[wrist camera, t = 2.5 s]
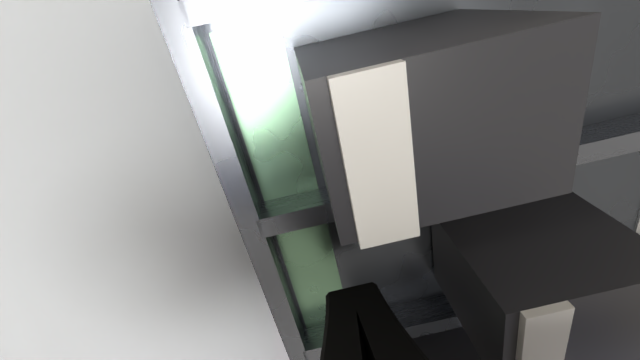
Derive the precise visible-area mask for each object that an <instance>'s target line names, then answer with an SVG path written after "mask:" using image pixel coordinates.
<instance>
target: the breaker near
mask: <svg viewBox="0 0 640 360" xmlns="http://www.w3.org/2000/svg"><path fill="white" fill-rule="evenodd" d="M600 18H601V12H572V11H526V10H481V9H458V10H453V11H449V12H445V13H441V14H436V15H432V16H428V17H423V18H419V19H415V20H411V21H406V22H402V23H398V24H393V25H389V26H385V27H381V28H376V29H372V30H368V31H363V32H359V33H355V34H351V35H346V36H342V37H338V38H333V39H329V40H325V41H321V42H316V43H312V44H308V45H303V46H299V47H295V48H294V51H295V56H296V60H297V65H298V69H299V73H300V78H301V82H302V87H303V91H304V95H305V100H306V104H307V109H308V113H309V117H310V122H311V126H312V131H313V135H314V139H315V144H316V148H317V152H318V157H319V161H320V165H321V169H322V173H323V176H324V180H325V184H326V188H327V192H328V196H329V200H330V204H331V208H332V212H333V216H334V220H335V224H336V228H337V232H338V236H339V240H340V244H341V246H344V245H348V244H353V243H357V242H358V243H359V246H360V249H366V248H370V247H374V246H379V245H383V244H387V243H392V242H396V241H400V240H405V239H409V238H413V237H418V236H420V228H422V227H426V226H430V225H435V224H439V223H443V222H448V221H452V220H456V219H461V218H465V217H469V216H473V215H478V214H482V213H486V212H491V211H495V210H499V209H504V208H508V207H512V206H517V205H521V204H525V203H530V202H534V201H538V200H543V199H547V198H551V197H556V196H560V195H564V194H568V193H572V188H573V182H574V176H575V170H576V163H577V157H578V151H579V145H580V139H581V133H582V127H583V121H584V115H585V109H586V103H587V97H588V91H589V85H590V79H591V73H592V67H593V61H594V55H595V49H596V42H597V36H598V30H599V24H600Z"/></svg>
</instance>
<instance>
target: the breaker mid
mask: <svg viewBox="0 0 640 360" xmlns="http://www.w3.org/2000/svg"><path fill="white" fill-rule="evenodd" d="M431 229H432V244H433V260H434V276H435V279H436V281H437V282H438V284H439V286H440V288H441V289H442V291H443V293H444V295H445V296H446V298H447V300H448V302H449V303H450V305H451V307H452V309H453V311H454V312H455V314H456V316H457V318H458V319H459V321H460V323H461V325H462V326H463V328H464V330H465V332H466V333H467V335H468V337H469V339H470V341H471V342H472V344H473V346H474V348H475V349H476V351H477V353H478V355H479V356H480V358H481V360H640V235H639V234H638V233H636V232H635V231H633V230H631V229H630V228H628V227H627V226H625V225H624V224H622V223H620V222H619V221H617V220H616V219H614V218H613V217H611V216H610V215H608V214H606V213H605V212H603V211H602V210H600V209H599V208H597V207H595V206H594V205H592V204H591V203H589V202H588V201H586V200H584V199H583V198H581V197H580V196H578V195H577V194H575V193H574V192H572V193H568V194H564V195H560V196H556V197H551V198H547V199H543V200H538V201H534V202H530V203H525V204H521V205H517V206H512V207H508V208H504V209H499V210H495V211H491V212H486V213H482V214H478V215H473V216H469V217H465V218H461V219H456V220H452V221H448V222H443V223H439V224H435V225H431Z"/></svg>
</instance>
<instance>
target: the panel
mask: <svg viewBox="0 0 640 360" xmlns="http://www.w3.org/2000/svg"><path fill="white" fill-rule="evenodd" d="M149 1H150V4H151V6H152V9H153V11H154V14H155V16H156V19H157V21H158V24H159V27H160V29H161V32H162V34H163V37H164V39H165V42H166V44H167V47H168V50H169V52H170V55H171V57H172V60H173V62H174V65H175V67H176V70H177V73H178V75H179V78H180V80H181V83H182V85H183V88H184V90H185V93H186V96H187V98H188V101H189V103H190V106H191V108H192V111H193V113H194V116H195V119H196V121H197V124H198V126H199V129H200V131H201V134H202V136H203V139H204V142H205V144H206V147H207V149H208V152H209V154H210V157H211V159H212V162H213V165H214V167H215V170H216V172H217V175H218V177H219V180H220V182H221V185H222V187H223V190H224V193H225V195H226V198H227V200H228V203H229V205H230V208H231V210H232V213H233V216H234V218H235V221H236V223H237V226H238V228H239V231H240V233H241V236H242V239H243V241H244V244H245V246H246V249H247V251H248V254H249V256H250V259H251V262H252V264H253V267H254V269H255V272H256V274H257V277H258V279H259V282H260V285H261V287H262V290H263V292H264V295H265V297H266V300H267V302H268V305H269V308H270V310H271V313H272V315H273V318H274V320H275V323H276V325H277V328H278V331H279V333H280V336H281V338H282V341H283V343H284V346H285V348H286V351H287V354H288V356H289V359H290V360H320V355H321V349H322V343H323V335H324V327H325V315H326V295H327V294H328V292H331V291H335V290H340V289H344V288H348V287H353V286H357V285H361V284H365V283H370V282H373V283H375V284H377V286H378V288H379V290H380V292H381V294H382V296H383V297H384V299H385V301H386V302H387V304H388V305H389V307H390V308H391V310H392V311H393V313H394V314H395V316H396V317H397V319H398V320H399V322H400V323H401V324H402V326H403V327H404V328H405V330H406V331H407V332H408V334H409V335H410V336H411V338H416V337H420V336H425V335H429V334H433V333H438V332H442V331H446V330H451V329H455V328H459V327H463V326H462V325H461V323H460V321H459V319H458V318H457V316H456V314H455V312H454V311H453V309H452V307H451V305H450V303H449V302H448V300H447V298H446V296H445V295H444V293H443V291H442V289H441V288H440V286H439V284H438V282H437V281H436V279H435V276H434V260H433V244H432V229H431V225H430V226H426V227H422V228H420V236H418V237H413V238H409V239H405V240H400V241H396V242H392V243H387V244H383V245H379V246H374V247H370V248H366V249H360V246H359V243H358V242H357V243H353V244H348V245H344V246H341V244H340V240H339V236H338V232H337V228H336V224H335V220H334V216H333V212H332V208H331V204H330V200H329V196H328V192H327V188H326V184H325V180H324V176H323V173H322V169H321V165H320V161H319V157H318V152H317V148H316V144H315V139H314V135H313V131H312V126H311V122H310V117H309V113H308V109H307V104H306V100H305V95H304V91H303V87H302V82H301V78H300V73H299V69H298V65H297V60H296V56H295V51H294V48H295V47H299V46H303V45H308V44H312V43H316V42H321V41H325V40H329V39H333V38H338V37H342V36H346V35H351V34H355V33H359V32H363V31H368V30H372V29H376V28H381V27H385V26H389V25H393V24H398V23H402V22H406V21H411V20H415V19H419V18H423V17H428V16H432V15H436V14H441V13H445V12H449V11H453V10H458V9H481V10H526V11H572V12H601V18H600V24H599V30H598V36H597V42H596V49H595V55H594V61H593V67H592V73H591V79H590V85H589V91H588V97H587V103H586V109H585V115H584V121H583V127H582V133H581V139H580V145H579V151H578V157H577V163H576V170H575V176H574V182H573V188H572V192H574V193H575V194H577V195H578V196H580V197H581V198H583V199H584V200H586V201H588V202H589V203H591V204H592V205H594V206H595V207H597V208H599V209H600V210H602V211H603V212H605V213H606V214H608V215H610V216H611V217H613V218H614V219H616V220H617V221H619V222H620V223H622V224H624V225H625V226H627V227H628V228H630V229H631V230H633V231H635V232H636V233H638V234H639V235H640V0H149Z"/></svg>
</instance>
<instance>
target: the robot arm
mask: <svg viewBox="0 0 640 360" xmlns="http://www.w3.org/2000/svg"><path fill="white" fill-rule="evenodd" d="M320 360H429V359H428V358H427V356H426V355H425V354H424V353H423V352H422V350H421V349H420V348H419V346H418V345H417V344H416V343H415V341H414V340H413V339H412V338H411V336H410V335H409V334H408V332H407V331H406V330H405V328H404V327H403V326H402V324H401V323H400V322H399V320H398V319H397V317H396V316H395V314H394V313H393V311H392V310H391V308H390V307H389V305H388V304H387V302H386V301H385V299H384V297H383V296H382V294H381V292H380V290H379V288H378V286H377V284H375V283H373V282H370V283H365V284H361V285H357V286H353V287H348V288H344V289H340V290H335V291H331V292H328V294H327V295H326V315H325V327H324V335H323V343H322V349H321V355H320Z"/></svg>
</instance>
